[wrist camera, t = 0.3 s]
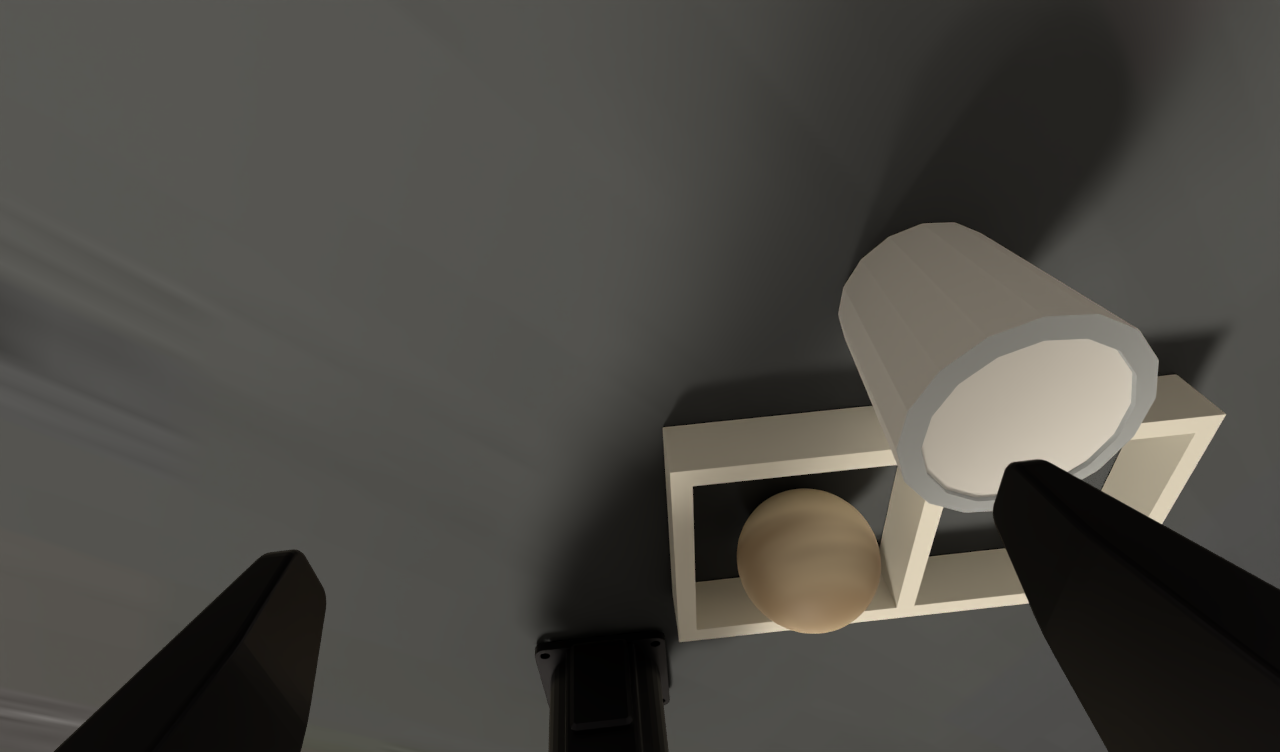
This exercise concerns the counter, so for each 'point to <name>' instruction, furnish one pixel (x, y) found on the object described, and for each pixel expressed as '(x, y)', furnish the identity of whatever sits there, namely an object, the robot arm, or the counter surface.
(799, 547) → the tan wooden ball
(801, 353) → the counter surface
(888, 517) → the holder
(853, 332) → the white and grey cylinder
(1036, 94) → the counter surface
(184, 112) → the counter surface
